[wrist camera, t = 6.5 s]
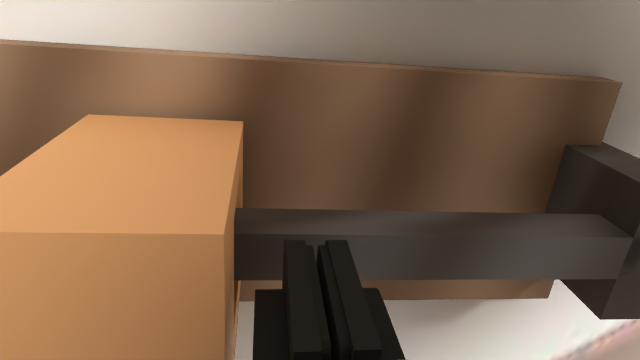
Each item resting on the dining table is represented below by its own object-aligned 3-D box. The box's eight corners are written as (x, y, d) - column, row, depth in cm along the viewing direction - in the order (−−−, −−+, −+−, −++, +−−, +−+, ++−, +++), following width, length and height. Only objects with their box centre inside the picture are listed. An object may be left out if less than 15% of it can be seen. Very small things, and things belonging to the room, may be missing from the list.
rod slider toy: (614, 78, 18) (813, 129, 11) (545, 285, 21) (663, 410, 15) (-207, 25, 14) (-614, 58, 7) (-109, 288, 18) (-322, 458, 11)
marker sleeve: (243, 121, 15) (224, 234, 8) (241, 268, 17) (226, 454, 10) (88, 114, 14) (-79, 231, 7) (108, 268, 17) (-4, 467, 10)
